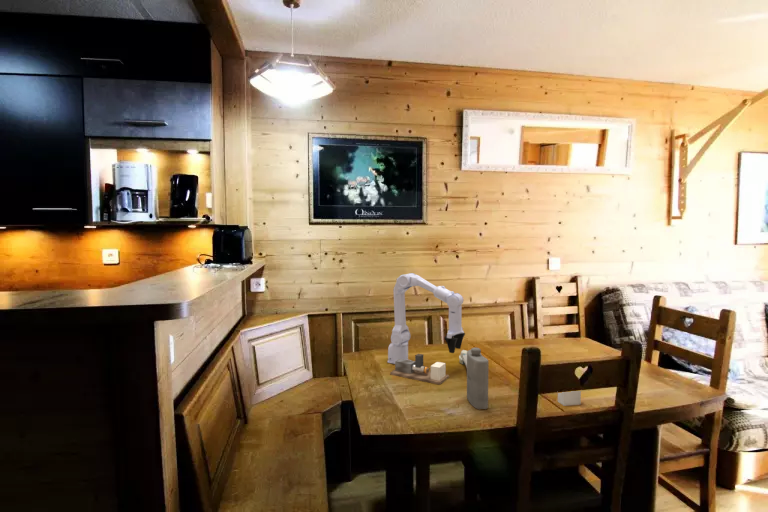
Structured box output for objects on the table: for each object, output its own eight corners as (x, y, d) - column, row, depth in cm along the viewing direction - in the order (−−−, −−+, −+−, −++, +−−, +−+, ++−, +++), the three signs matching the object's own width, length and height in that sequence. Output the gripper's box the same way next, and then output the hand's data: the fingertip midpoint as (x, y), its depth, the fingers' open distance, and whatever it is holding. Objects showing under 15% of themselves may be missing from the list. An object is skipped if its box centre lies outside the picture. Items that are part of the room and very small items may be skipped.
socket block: (430, 379, 167) (430, 366, 167) (437, 374, 173) (437, 361, 173) (439, 380, 165) (439, 367, 165) (445, 375, 171) (445, 363, 171)
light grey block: (580, 404, 144) (581, 377, 143) (563, 405, 143) (564, 378, 142) (574, 400, 147) (574, 374, 147) (557, 401, 146) (558, 375, 146)
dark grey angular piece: (397, 369, 177) (397, 352, 177) (401, 367, 180) (401, 350, 180) (426, 374, 170) (426, 357, 170) (429, 372, 173) (429, 355, 172)
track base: (390, 374, 176) (390, 362, 175) (401, 367, 184) (400, 356, 184) (440, 384, 163) (440, 372, 163) (449, 377, 172) (449, 365, 171)
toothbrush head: (468, 371, 169) (458, 346, 193) (468, 385, 170) (457, 359, 194) (481, 371, 169) (468, 346, 193) (480, 385, 170) (468, 359, 194)
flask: (463, 393, 154) (464, 343, 153) (478, 393, 155) (478, 343, 154) (473, 410, 139) (473, 354, 138) (489, 409, 140) (490, 354, 139)
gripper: (457, 324, 168) (457, 356, 169) (469, 318, 181) (468, 347, 181) (442, 323, 172) (442, 353, 173) (454, 317, 184) (454, 345, 185)
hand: (454, 350), depth 177 cm, fingers open, 7 cm apart
